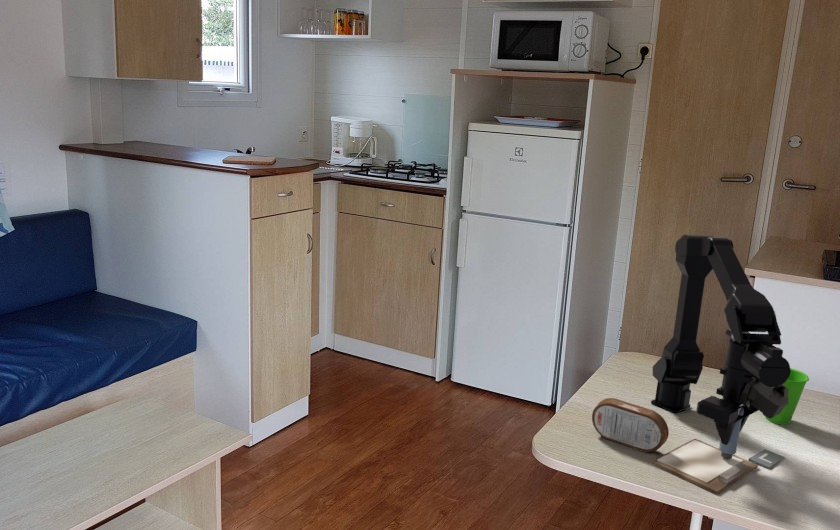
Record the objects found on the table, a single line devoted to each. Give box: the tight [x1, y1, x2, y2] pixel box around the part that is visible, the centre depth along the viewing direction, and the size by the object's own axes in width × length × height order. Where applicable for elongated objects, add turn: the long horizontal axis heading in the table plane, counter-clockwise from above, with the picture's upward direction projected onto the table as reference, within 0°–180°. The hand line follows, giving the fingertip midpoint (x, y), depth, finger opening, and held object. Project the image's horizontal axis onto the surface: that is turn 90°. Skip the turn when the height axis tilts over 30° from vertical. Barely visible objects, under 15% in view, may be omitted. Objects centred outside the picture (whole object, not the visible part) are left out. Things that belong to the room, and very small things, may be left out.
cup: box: [764, 367, 810, 425], centre depth 158 cm, size 9×9×11 cm
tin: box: [591, 397, 670, 453], centre depth 143 cm, size 15×3×8 cm, turn 54°
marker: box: [719, 406, 744, 459], centre depth 137 cm, size 3×3×10 cm
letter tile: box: [748, 448, 786, 470], centre depth 141 cm, size 4×7×1 cm, turn 131°
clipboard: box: [651, 438, 759, 495], centre depth 137 cm, size 13×16×2 cm
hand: (728, 441), depth 138 cm, fingers closed on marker, 3 cm apart
